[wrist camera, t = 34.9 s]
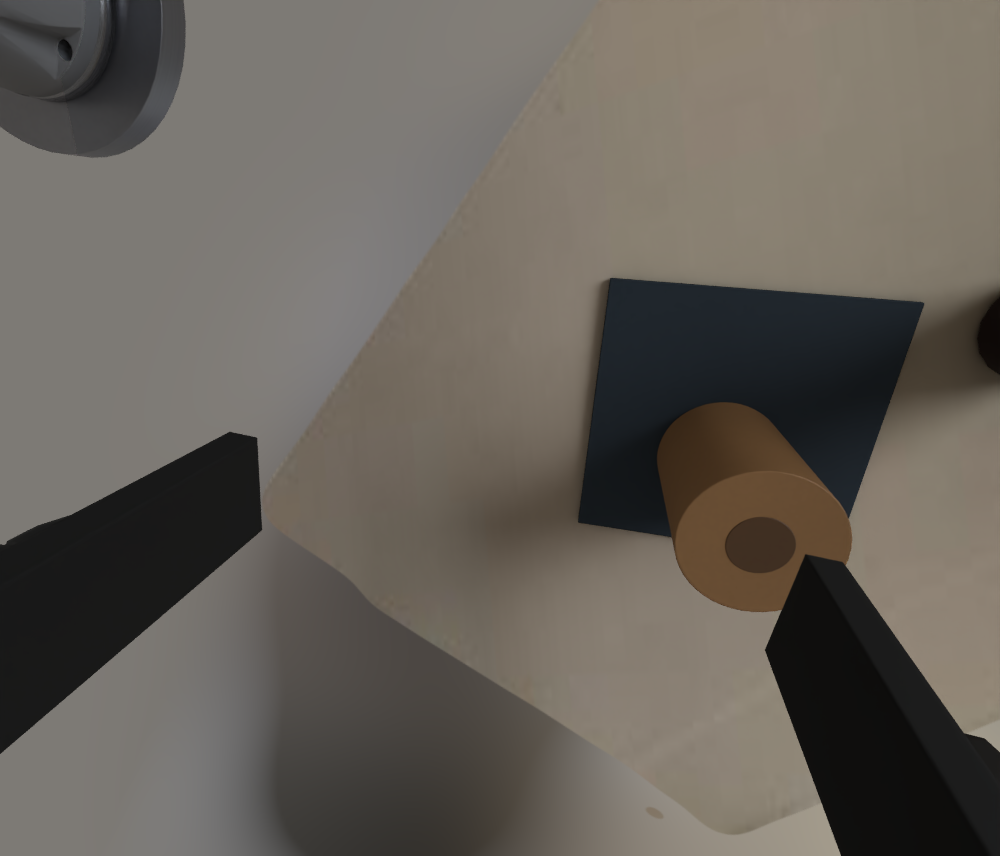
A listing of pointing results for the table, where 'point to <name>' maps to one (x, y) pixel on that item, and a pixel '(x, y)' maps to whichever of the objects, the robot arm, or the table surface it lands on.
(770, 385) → the slate mat
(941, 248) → the table surface
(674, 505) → the paper roll
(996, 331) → the bottle
